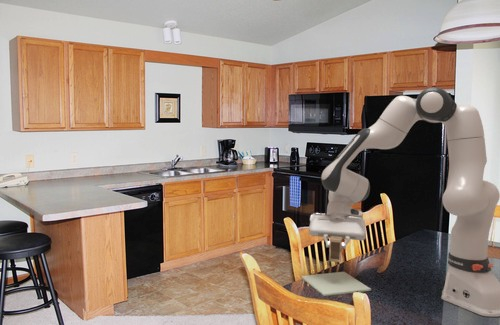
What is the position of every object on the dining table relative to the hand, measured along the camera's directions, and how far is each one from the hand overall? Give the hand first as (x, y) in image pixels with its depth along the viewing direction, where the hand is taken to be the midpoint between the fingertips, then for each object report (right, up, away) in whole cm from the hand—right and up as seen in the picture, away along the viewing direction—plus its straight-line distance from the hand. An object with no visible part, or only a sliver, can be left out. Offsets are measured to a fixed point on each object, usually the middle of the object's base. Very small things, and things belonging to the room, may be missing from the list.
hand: (335, 247), depth 154 cm
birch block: (0, -5, +1) cm, 5 cm away
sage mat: (0, -13, +1) cm, 13 cm away
